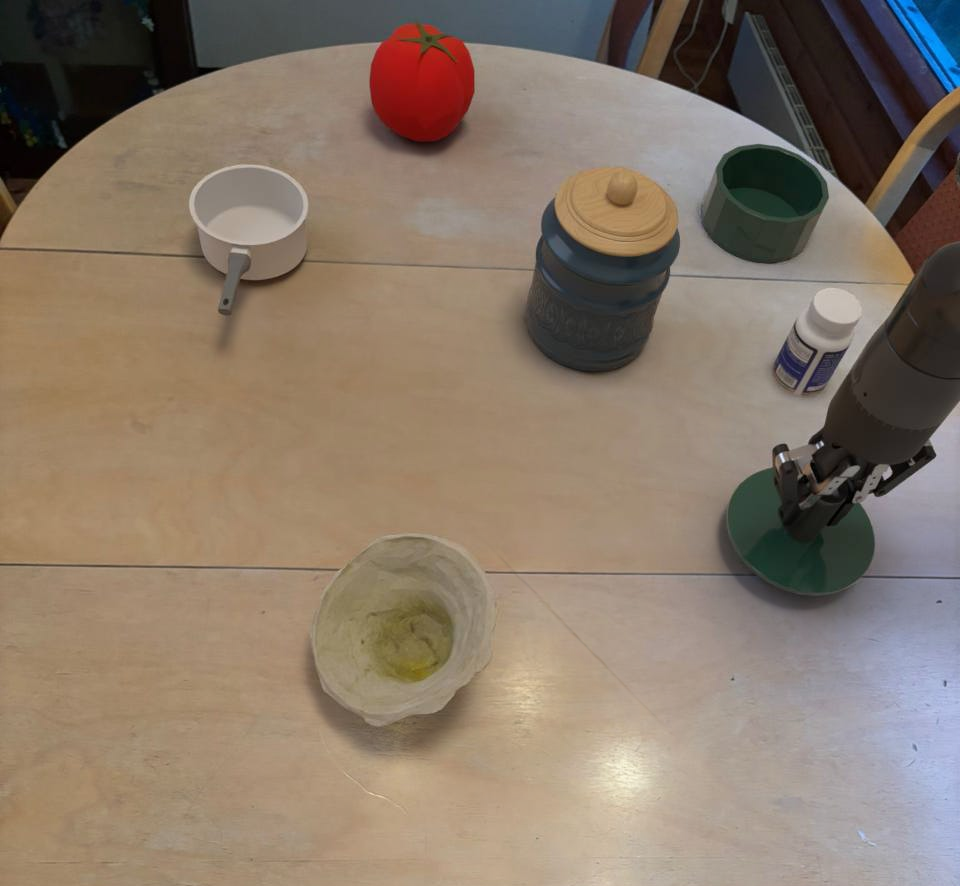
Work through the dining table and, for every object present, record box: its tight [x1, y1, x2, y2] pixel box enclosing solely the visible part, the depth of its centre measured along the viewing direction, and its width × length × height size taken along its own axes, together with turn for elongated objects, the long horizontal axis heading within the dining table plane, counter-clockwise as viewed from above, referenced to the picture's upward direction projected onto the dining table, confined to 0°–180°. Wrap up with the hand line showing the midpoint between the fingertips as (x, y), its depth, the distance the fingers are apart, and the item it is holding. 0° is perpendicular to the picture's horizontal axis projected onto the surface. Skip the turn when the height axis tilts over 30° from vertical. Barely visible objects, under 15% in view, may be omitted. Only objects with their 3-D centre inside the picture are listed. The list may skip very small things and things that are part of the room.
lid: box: [725, 467, 876, 597], centre depth 82 cm, size 13×13×7 cm
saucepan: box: [188, 163, 309, 317], centre depth 93 cm, size 12×20×6 cm, turn 177°
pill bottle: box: [771, 287, 863, 398], centre depth 93 cm, size 6×6×10 cm
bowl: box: [308, 532, 498, 727], centre depth 74 cm, size 15×14×10 cm
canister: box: [525, 166, 681, 372], centre depth 90 cm, size 13×13×18 cm
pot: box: [701, 143, 830, 264], centre depth 105 cm, size 12×12×5 cm
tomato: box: [368, 18, 476, 142], centre depth 105 cm, size 12×12×10 cm
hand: (807, 519), depth 83 cm, fingers closed on lid, 3 cm apart
